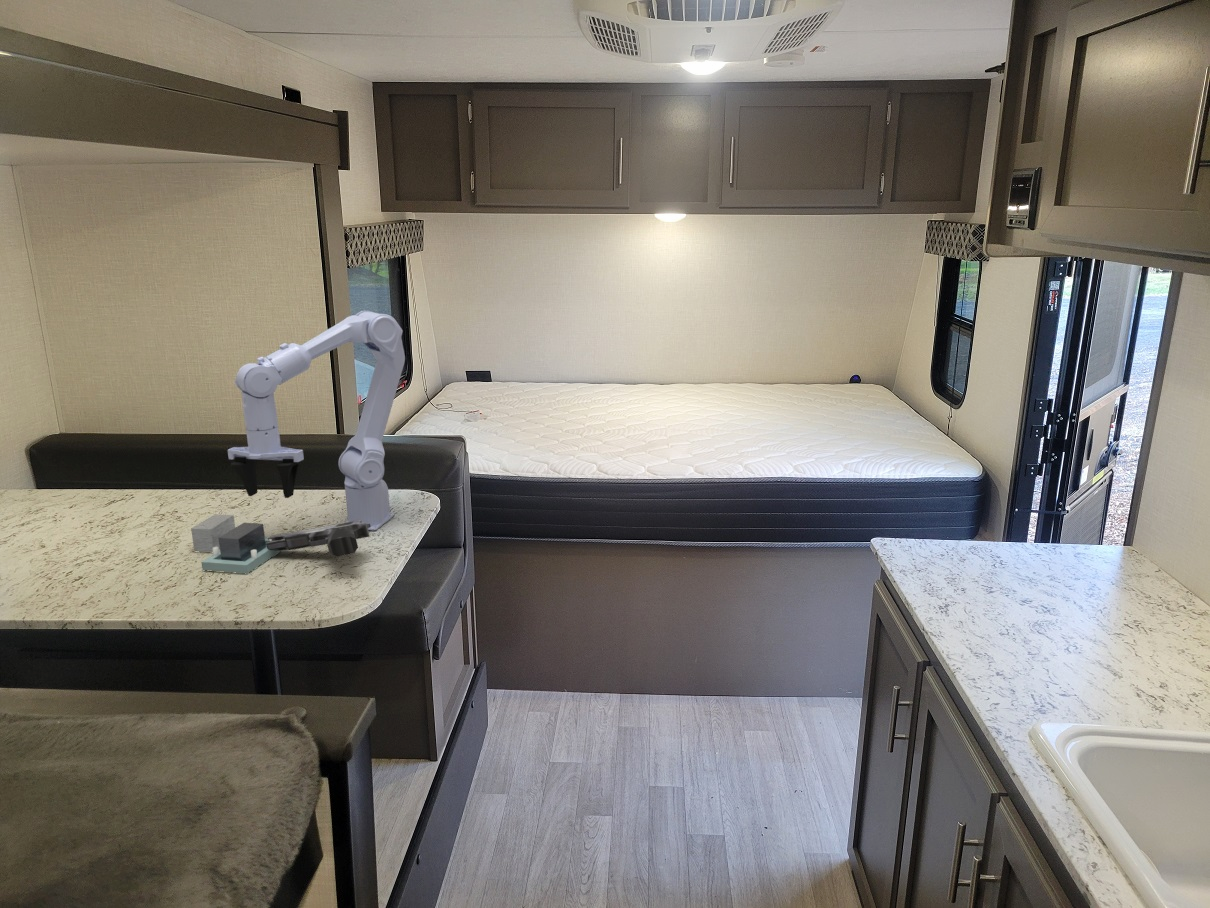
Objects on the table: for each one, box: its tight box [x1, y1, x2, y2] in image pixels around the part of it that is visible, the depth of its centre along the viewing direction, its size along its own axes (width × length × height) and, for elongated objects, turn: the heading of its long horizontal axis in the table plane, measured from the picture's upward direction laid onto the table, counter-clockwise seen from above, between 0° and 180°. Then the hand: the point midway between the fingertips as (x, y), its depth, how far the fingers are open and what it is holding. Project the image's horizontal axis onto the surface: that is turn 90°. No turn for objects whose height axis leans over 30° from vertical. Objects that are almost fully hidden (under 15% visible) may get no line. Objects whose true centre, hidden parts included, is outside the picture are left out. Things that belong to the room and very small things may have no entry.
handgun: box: [266, 520, 371, 558], centre depth 155 cm, size 3×21×12 cm
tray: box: [201, 537, 282, 575], centre depth 158 cm, size 13×9×3 cm
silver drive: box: [190, 513, 236, 553], centre depth 165 cm, size 8×4×5 cm, turn 173°
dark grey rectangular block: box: [218, 522, 266, 561], centre depth 157 cm, size 8×4×5 cm, turn 170°
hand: (270, 495), depth 163 cm, fingers open, 7 cm apart
